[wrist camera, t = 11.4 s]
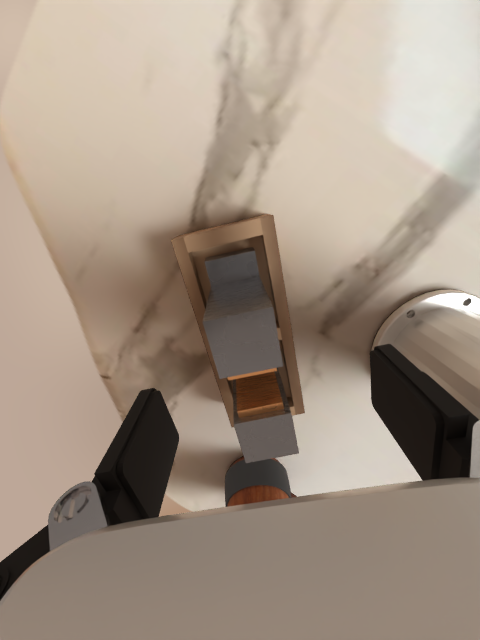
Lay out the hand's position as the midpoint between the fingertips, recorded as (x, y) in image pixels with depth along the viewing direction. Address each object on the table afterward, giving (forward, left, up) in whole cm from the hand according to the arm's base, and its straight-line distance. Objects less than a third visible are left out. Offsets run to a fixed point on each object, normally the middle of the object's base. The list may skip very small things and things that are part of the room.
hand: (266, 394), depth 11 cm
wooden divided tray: (+1, +4, -15) cm, 16 cm away
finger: (+1, -1, -13) cm, 13 cm away
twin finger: (+1, +9, -13) cm, 16 cm away
